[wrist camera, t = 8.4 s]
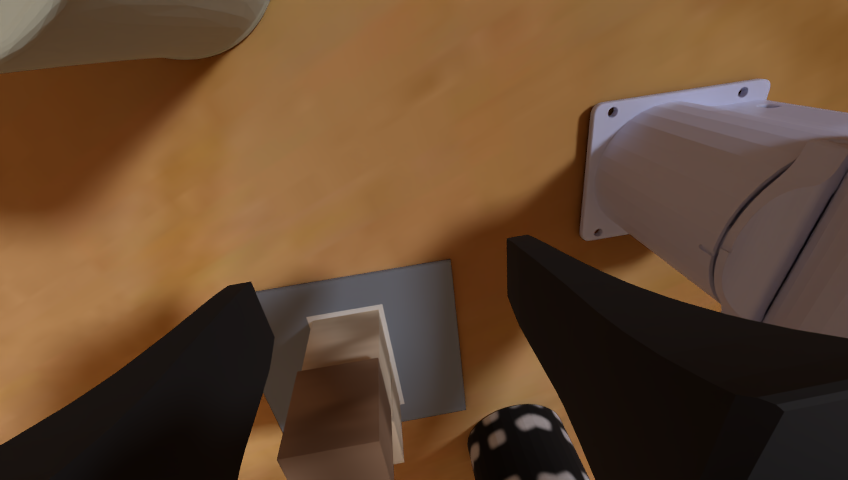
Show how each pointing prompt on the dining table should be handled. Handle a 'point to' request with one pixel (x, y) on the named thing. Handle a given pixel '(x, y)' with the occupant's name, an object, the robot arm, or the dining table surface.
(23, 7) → the can
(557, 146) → the dining table surface
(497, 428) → the spotted tube
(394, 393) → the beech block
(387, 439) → the walnut block
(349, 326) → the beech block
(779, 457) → the robot arm
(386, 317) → the mat
